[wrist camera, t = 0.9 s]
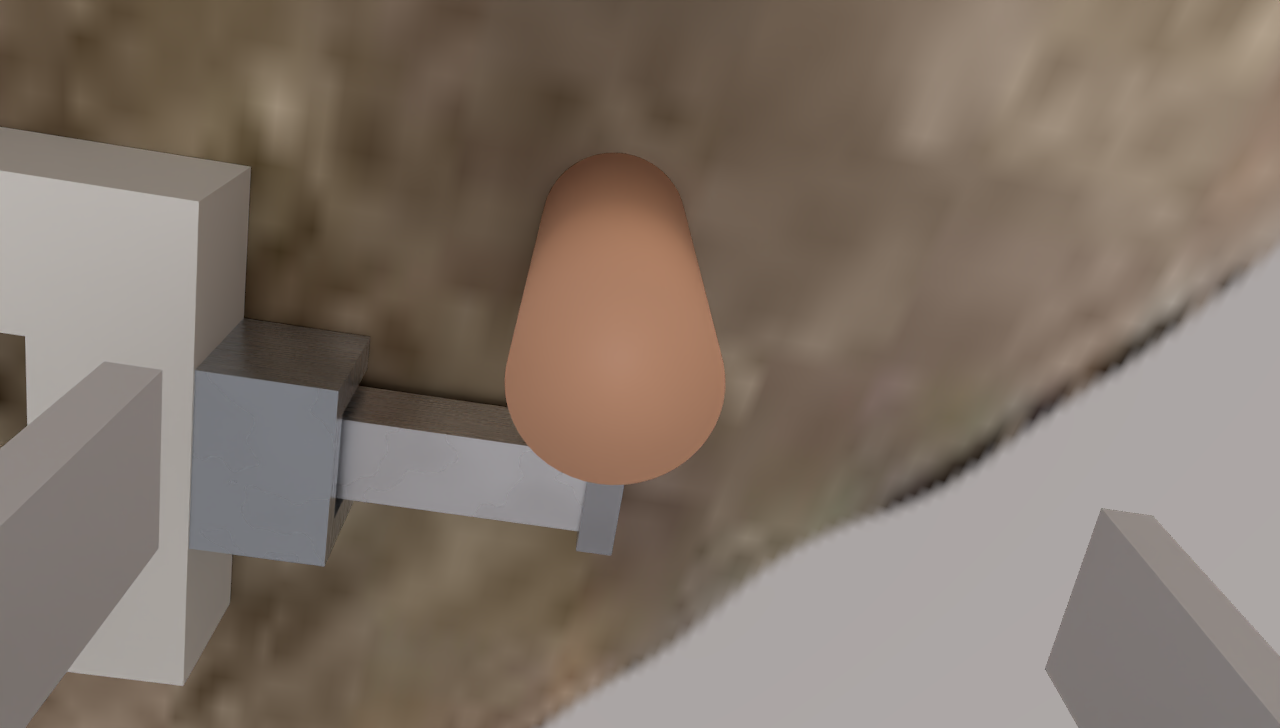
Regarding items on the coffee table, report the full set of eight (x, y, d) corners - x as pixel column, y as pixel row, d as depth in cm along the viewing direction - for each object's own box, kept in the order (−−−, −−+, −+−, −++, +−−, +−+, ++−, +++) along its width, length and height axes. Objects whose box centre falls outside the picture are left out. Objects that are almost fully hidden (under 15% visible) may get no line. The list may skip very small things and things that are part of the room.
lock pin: (278, 461, 34) (249, 506, 31) (284, 361, 33) (255, 400, 30) (611, 508, 35) (611, 555, 32) (628, 412, 33) (630, 453, 31)
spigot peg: (533, 281, 32) (492, 468, 21) (552, 141, 31) (519, 264, 20) (671, 302, 33) (703, 499, 22) (697, 165, 31) (745, 298, 20)
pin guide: (235, 479, 34) (189, 548, 31) (243, 317, 33) (194, 370, 29) (355, 495, 35) (324, 566, 31) (370, 336, 33) (338, 391, 29)
